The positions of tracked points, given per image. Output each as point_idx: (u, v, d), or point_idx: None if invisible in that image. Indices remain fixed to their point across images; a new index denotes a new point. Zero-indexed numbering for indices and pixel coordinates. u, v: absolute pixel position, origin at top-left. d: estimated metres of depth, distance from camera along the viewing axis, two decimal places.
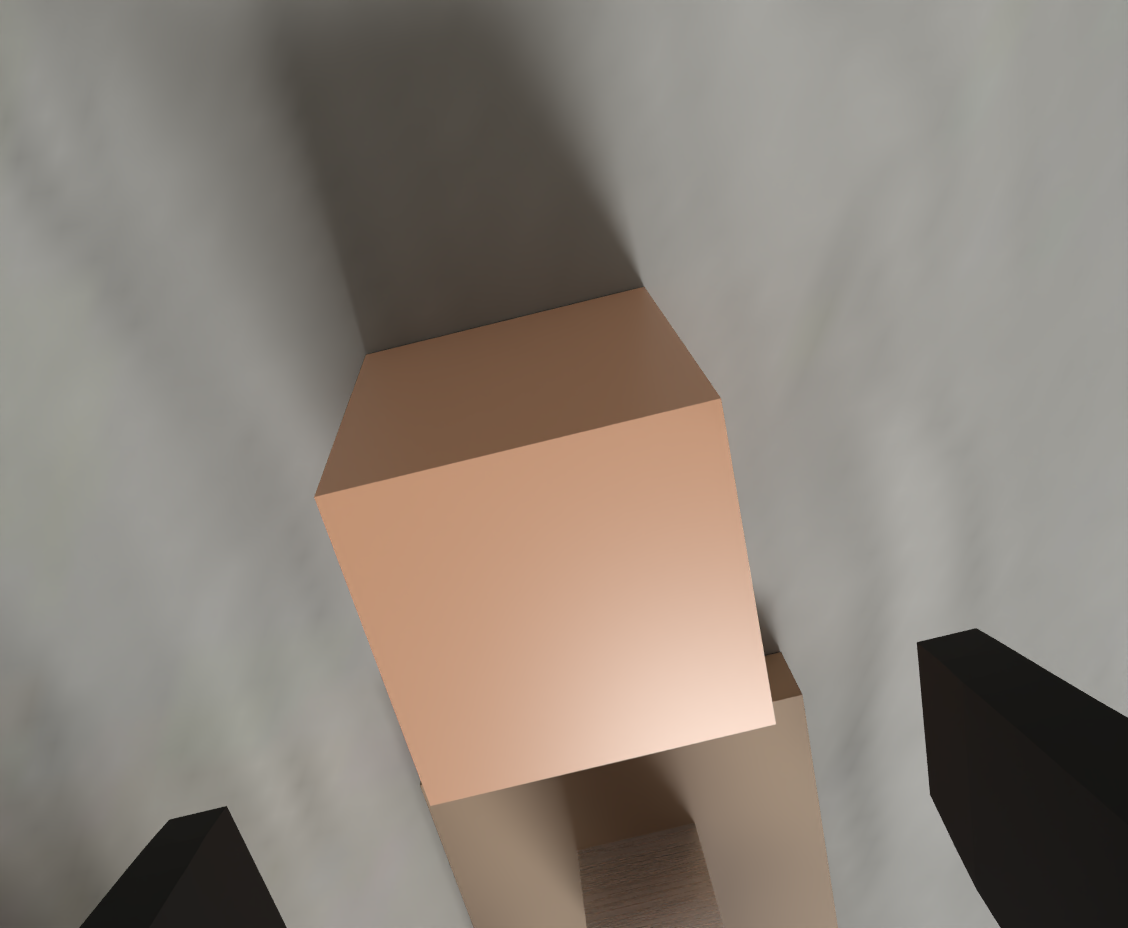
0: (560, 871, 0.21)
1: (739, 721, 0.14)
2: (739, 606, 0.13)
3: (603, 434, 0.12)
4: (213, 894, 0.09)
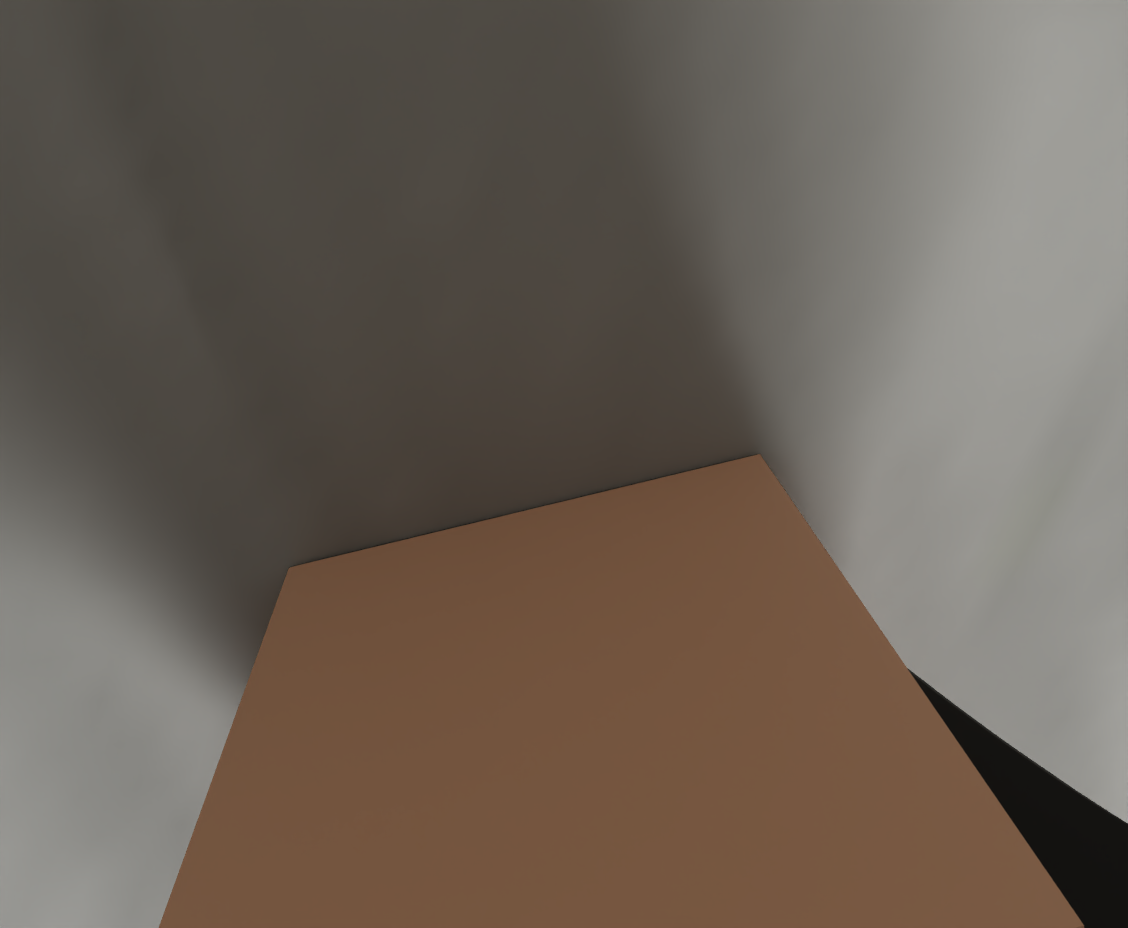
0: None
1: None
2: None
3: None
4: None
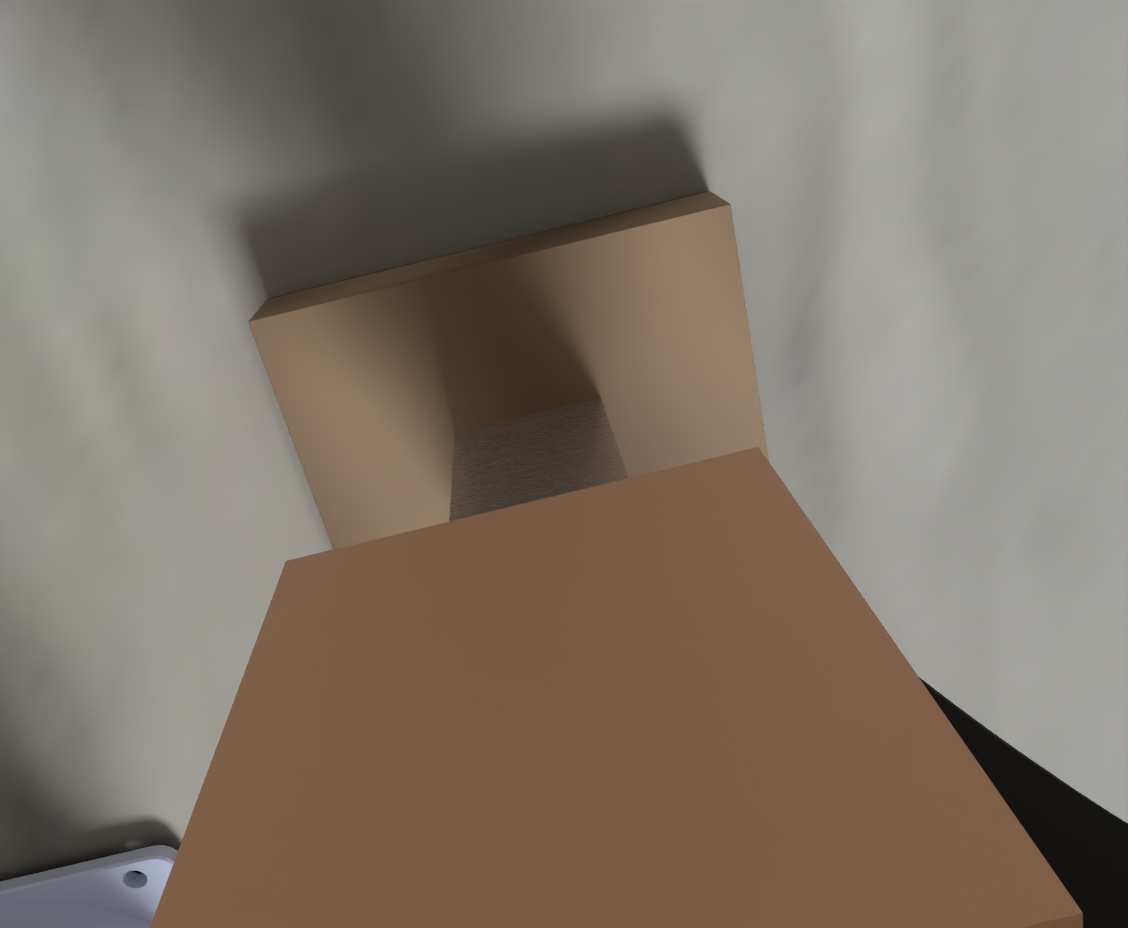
0: (435, 463, 0.17)
1: None
2: None
3: None
4: None
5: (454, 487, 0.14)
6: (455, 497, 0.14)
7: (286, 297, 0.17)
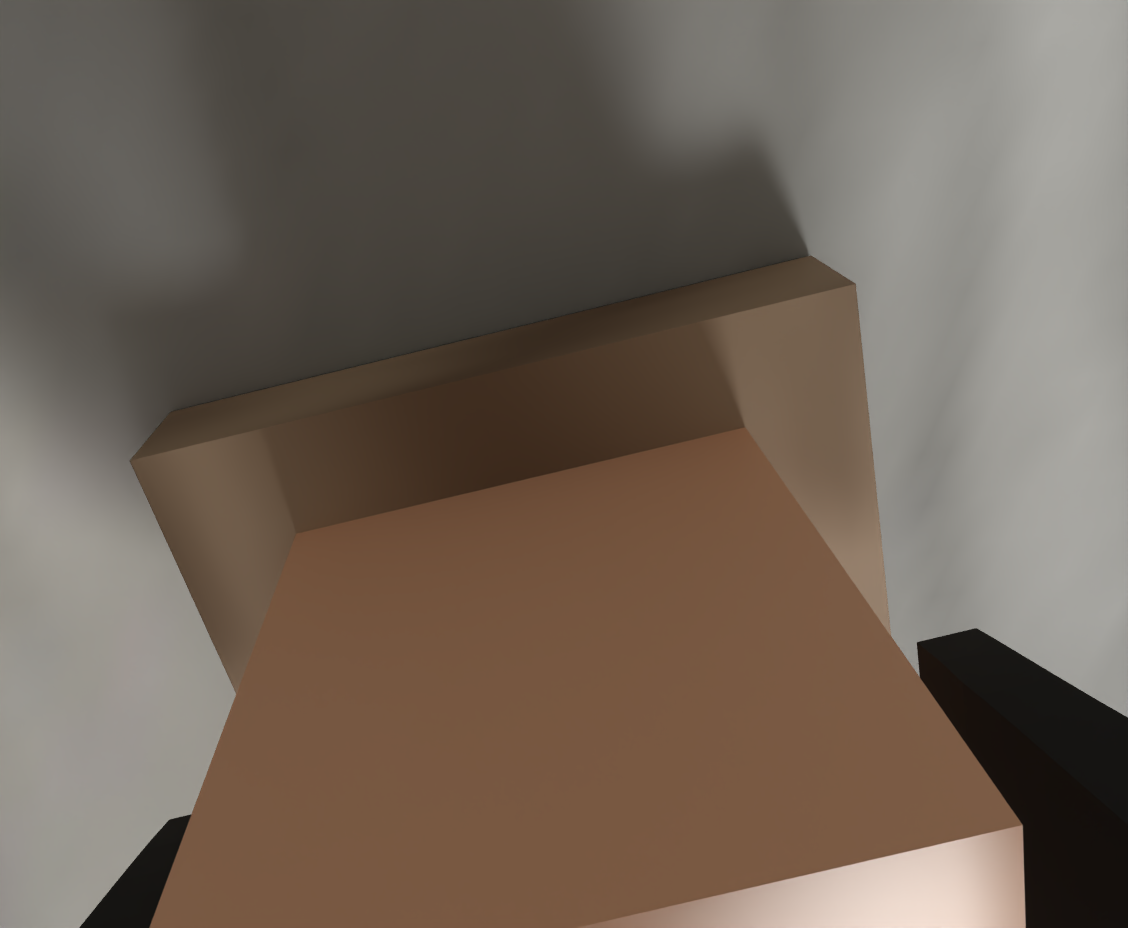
0: None
1: None
2: None
3: (755, 898, 0.05)
4: None
5: None
6: None
7: (196, 411, 0.11)
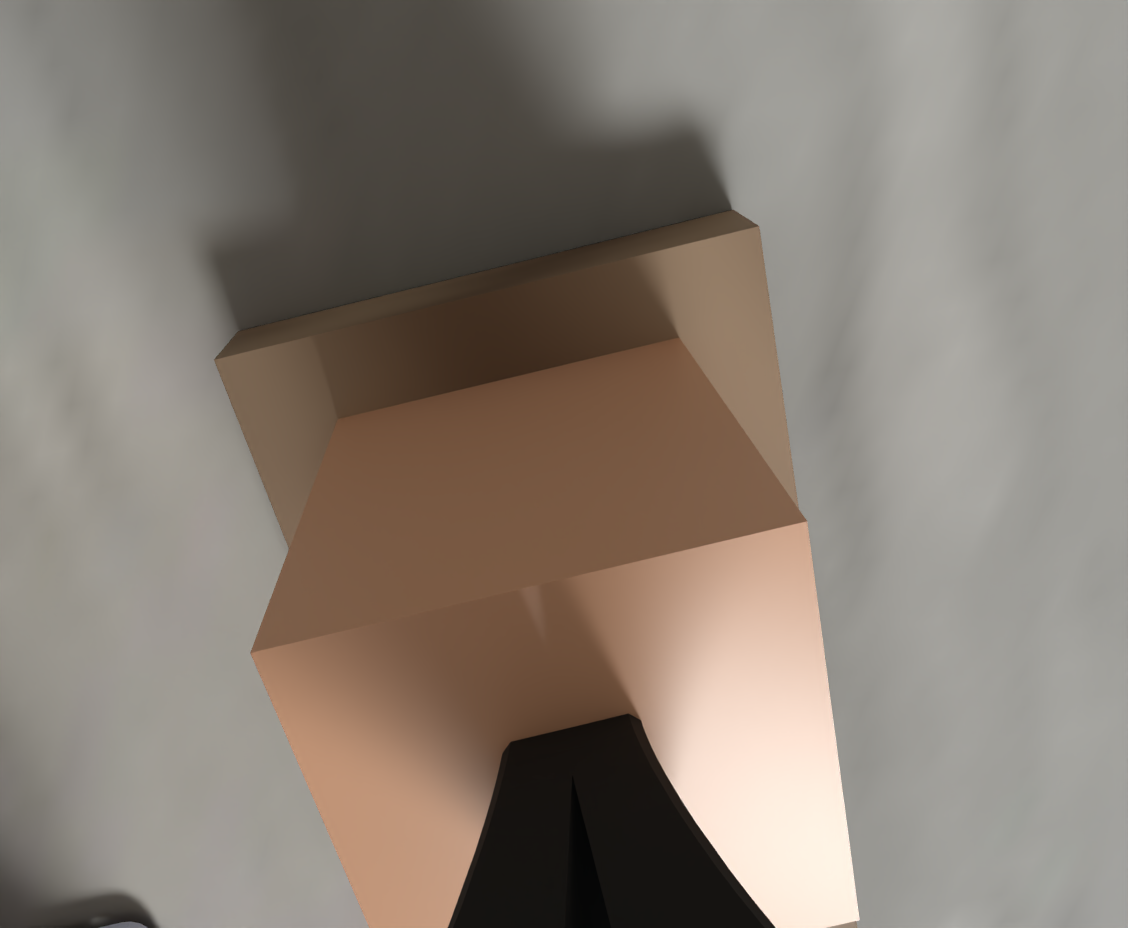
0: None
1: (812, 917, 0.11)
2: (819, 781, 0.10)
3: (645, 568, 0.09)
4: None
5: None
6: None
7: (259, 329, 0.15)
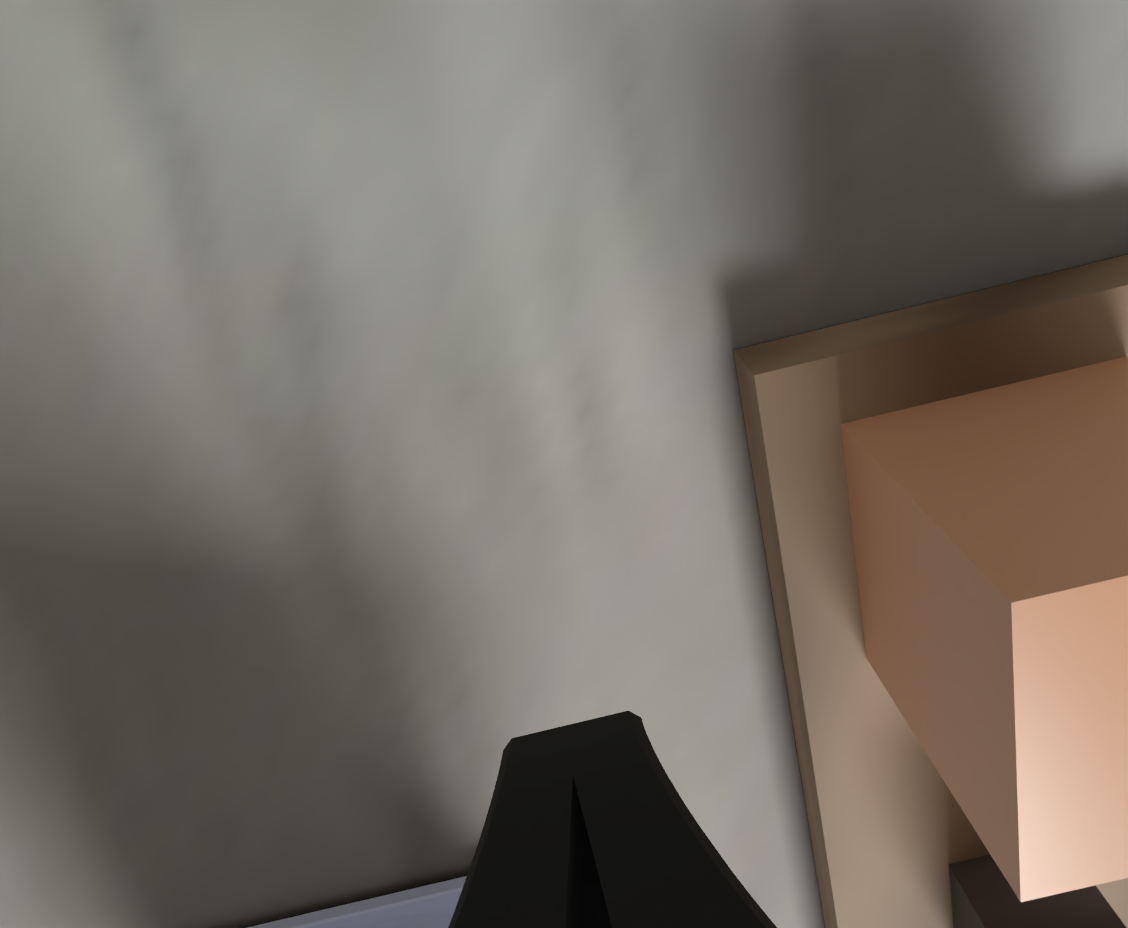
0: None
1: None
2: None
3: None
4: None
5: None
6: None
7: (758, 349, 0.18)
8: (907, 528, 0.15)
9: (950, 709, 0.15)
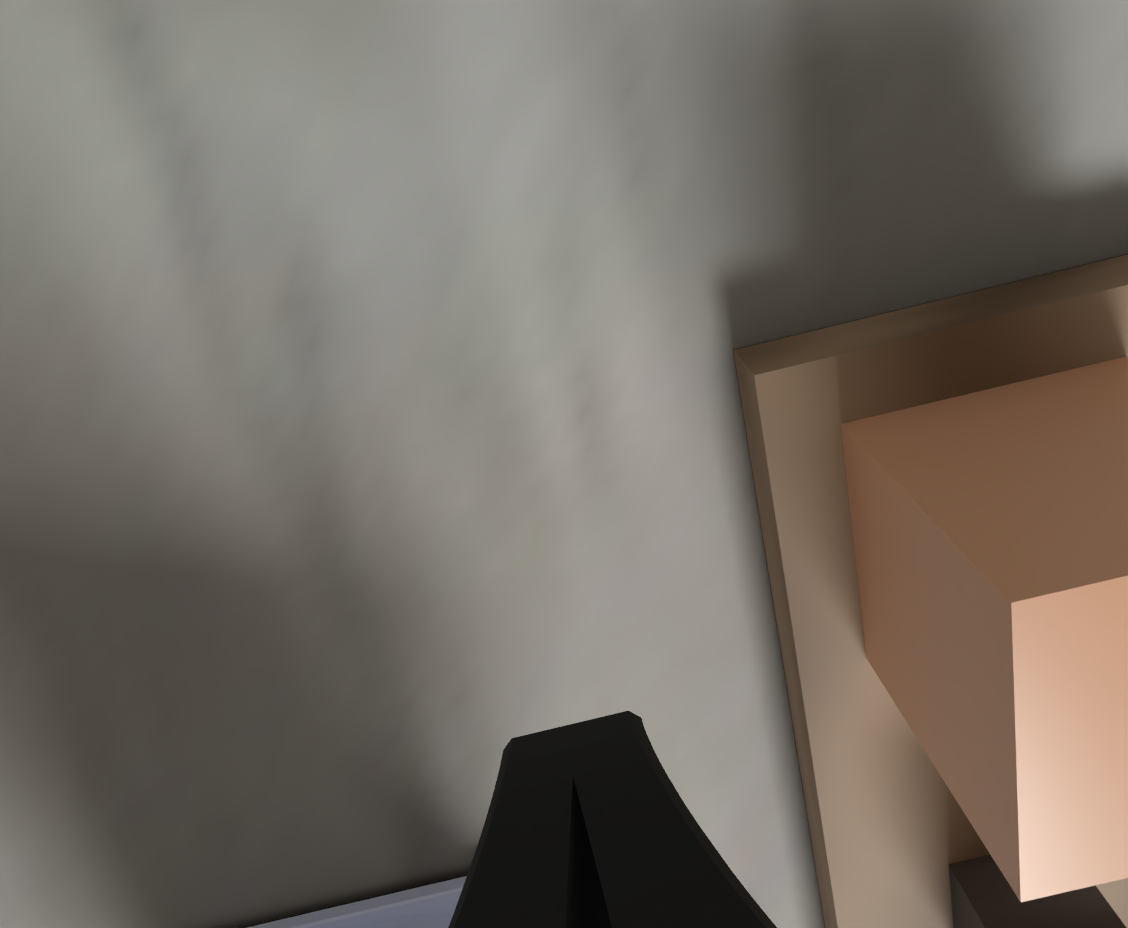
0: None
1: None
2: None
3: None
4: None
5: None
6: None
7: (758, 349, 0.18)
8: (907, 528, 0.15)
9: (950, 709, 0.15)
